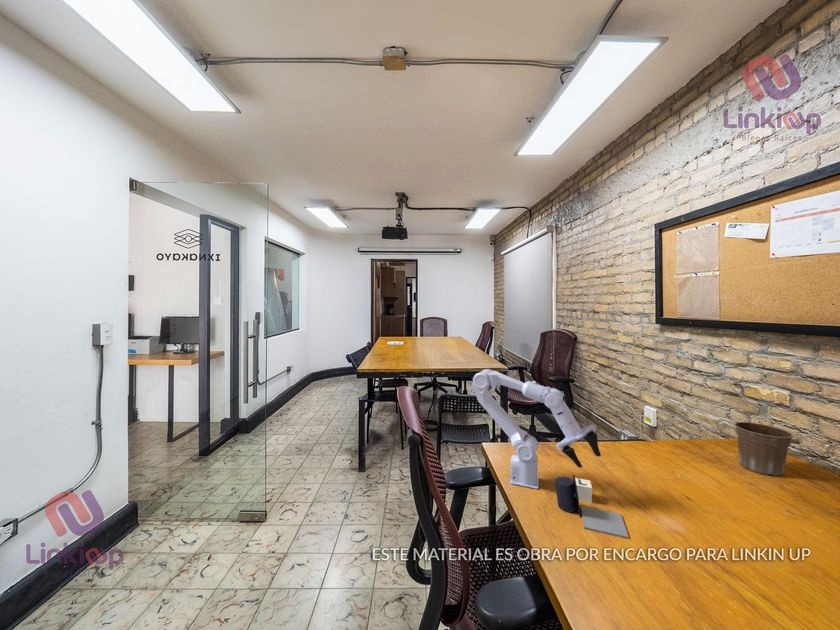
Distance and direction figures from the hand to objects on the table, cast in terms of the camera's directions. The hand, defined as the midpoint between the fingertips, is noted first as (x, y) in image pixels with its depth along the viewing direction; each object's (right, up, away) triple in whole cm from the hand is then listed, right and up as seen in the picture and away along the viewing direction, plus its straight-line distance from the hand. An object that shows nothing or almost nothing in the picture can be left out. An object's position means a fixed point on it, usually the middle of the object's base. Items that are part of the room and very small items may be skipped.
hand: (589, 461), depth 110 cm
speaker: (-10, -12, -6) cm, 17 cm away
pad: (-2, -12, -13) cm, 18 cm away
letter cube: (-2, -12, 0) cm, 12 cm away
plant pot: (+79, -13, +21) cm, 83 cm away
